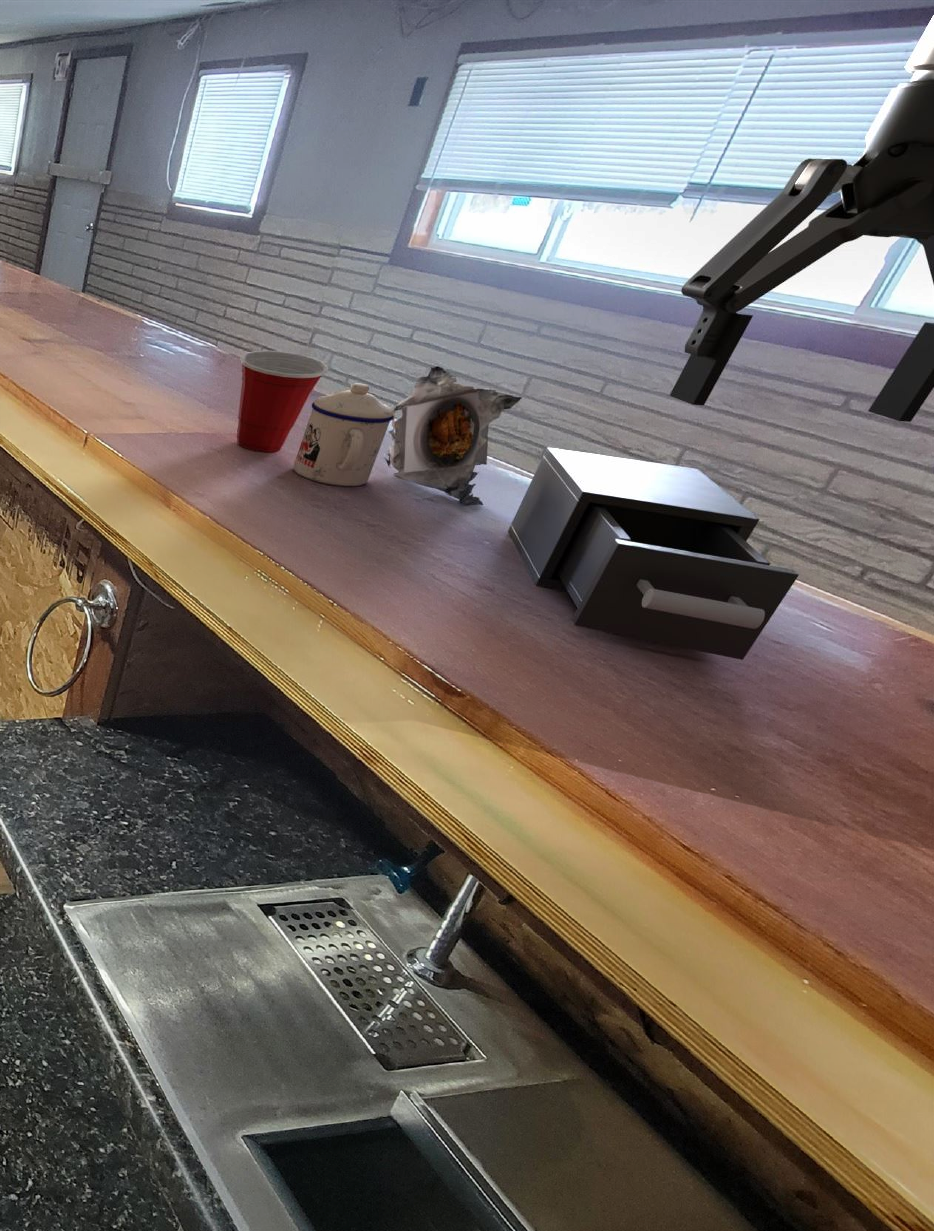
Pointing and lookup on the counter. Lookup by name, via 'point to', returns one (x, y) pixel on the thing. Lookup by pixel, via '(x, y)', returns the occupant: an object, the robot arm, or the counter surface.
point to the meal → (444, 433)
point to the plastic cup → (273, 396)
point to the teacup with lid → (343, 437)
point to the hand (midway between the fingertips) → (785, 409)
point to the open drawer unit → (670, 580)
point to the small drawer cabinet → (609, 502)
